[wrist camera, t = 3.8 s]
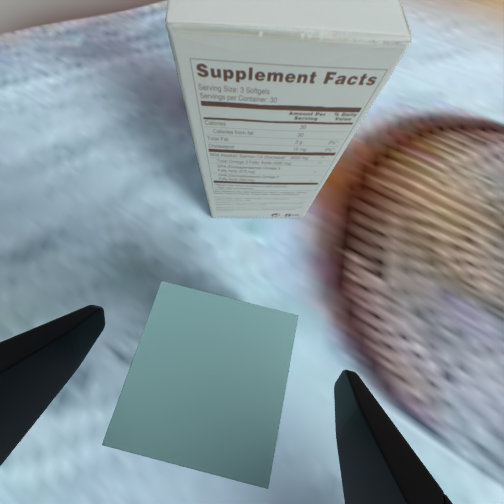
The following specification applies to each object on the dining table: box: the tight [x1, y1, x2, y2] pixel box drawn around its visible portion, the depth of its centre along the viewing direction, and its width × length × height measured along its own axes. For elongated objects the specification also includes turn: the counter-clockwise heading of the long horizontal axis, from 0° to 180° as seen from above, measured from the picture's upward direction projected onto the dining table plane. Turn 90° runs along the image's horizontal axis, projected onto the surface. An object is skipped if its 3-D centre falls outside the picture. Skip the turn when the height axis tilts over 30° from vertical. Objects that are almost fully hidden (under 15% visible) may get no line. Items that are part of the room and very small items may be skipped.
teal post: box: [102, 281, 298, 489], centre depth 11 cm, size 4×4×10 cm
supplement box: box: [165, 0, 412, 218], centre depth 14 cm, size 7×7×13 cm
